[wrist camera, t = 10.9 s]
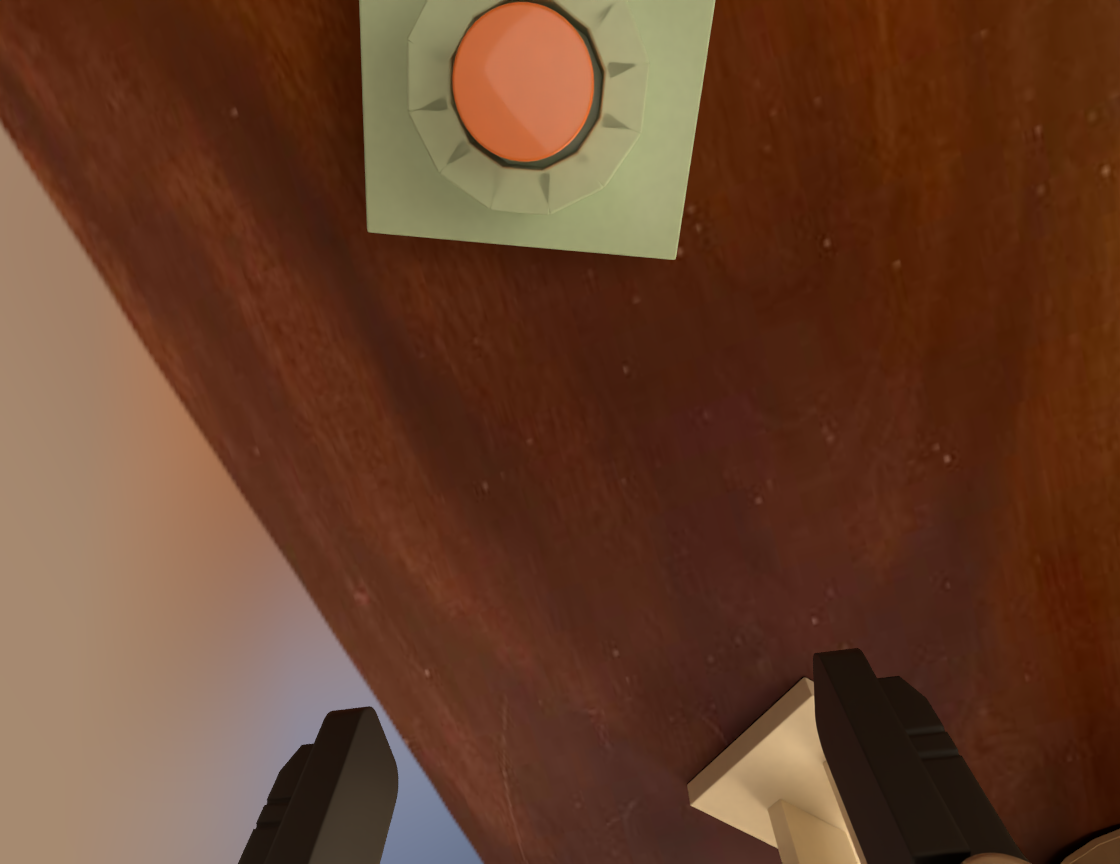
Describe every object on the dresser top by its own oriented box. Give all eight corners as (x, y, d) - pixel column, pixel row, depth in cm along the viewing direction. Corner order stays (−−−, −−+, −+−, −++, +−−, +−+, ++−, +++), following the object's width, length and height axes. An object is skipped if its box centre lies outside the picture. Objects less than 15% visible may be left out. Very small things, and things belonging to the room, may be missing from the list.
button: (461, 152, 19) (450, 155, 18) (463, 6, 18) (452, -6, 16) (586, 164, 19) (586, 168, 18) (599, 18, 18) (601, 8, 16)
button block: (384, 223, 24) (349, 241, 20) (376, -92, 20) (331, -140, 16) (667, 249, 24) (684, 271, 20) (713, -60, 20) (743, -100, 16)
